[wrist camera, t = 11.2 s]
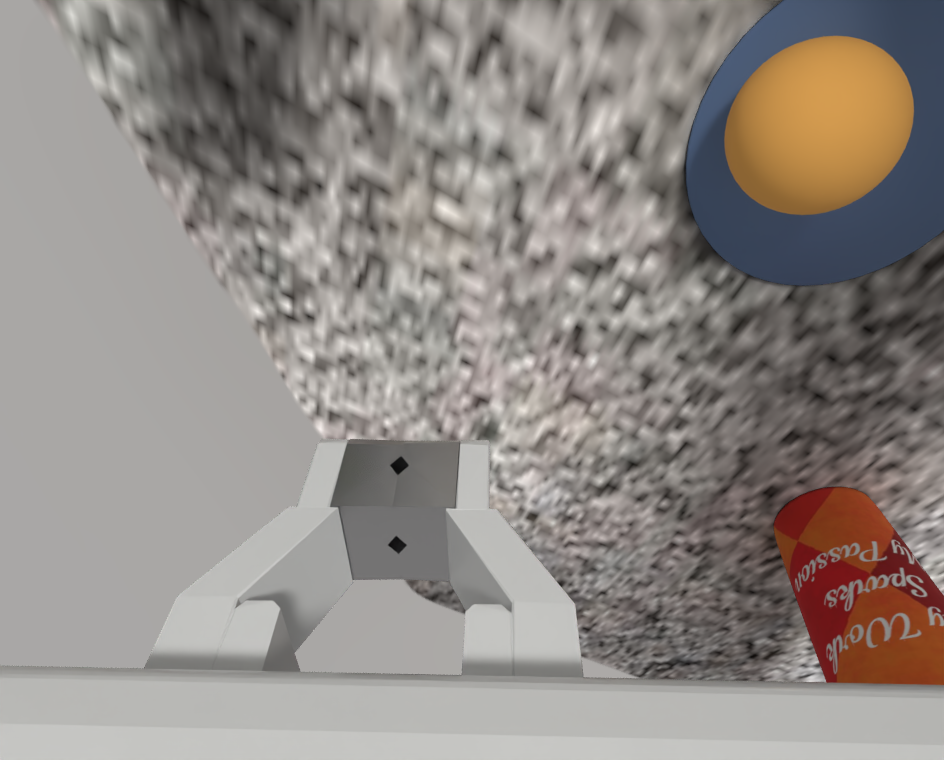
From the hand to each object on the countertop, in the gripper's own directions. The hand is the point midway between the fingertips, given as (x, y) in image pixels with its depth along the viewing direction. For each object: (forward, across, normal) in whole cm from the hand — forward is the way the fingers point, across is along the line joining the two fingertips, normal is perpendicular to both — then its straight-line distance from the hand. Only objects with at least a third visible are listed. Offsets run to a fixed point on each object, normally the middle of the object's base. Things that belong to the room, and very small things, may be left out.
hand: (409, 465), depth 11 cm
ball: (+16, -13, -1) cm, 21 cm away
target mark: (+19, -16, 0) cm, 25 cm away
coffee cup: (+19, -22, +23) cm, 37 cm away
